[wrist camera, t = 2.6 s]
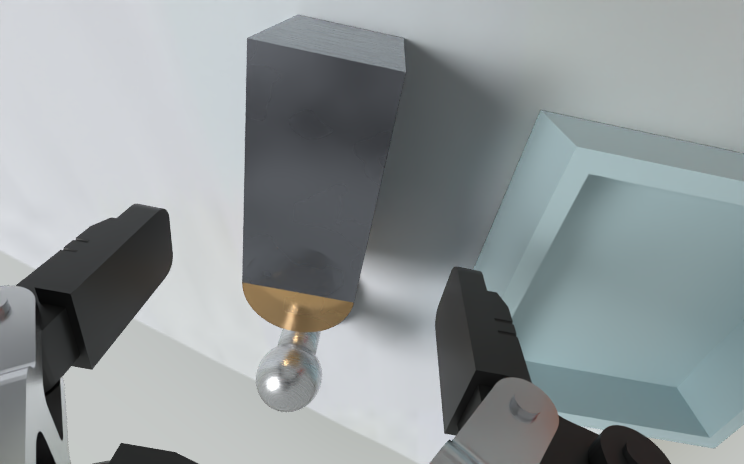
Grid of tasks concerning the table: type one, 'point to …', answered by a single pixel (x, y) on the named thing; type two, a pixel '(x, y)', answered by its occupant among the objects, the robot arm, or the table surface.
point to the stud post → (290, 372)
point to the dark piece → (314, 164)
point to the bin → (626, 277)
